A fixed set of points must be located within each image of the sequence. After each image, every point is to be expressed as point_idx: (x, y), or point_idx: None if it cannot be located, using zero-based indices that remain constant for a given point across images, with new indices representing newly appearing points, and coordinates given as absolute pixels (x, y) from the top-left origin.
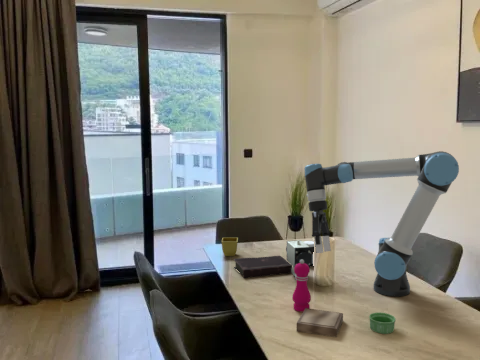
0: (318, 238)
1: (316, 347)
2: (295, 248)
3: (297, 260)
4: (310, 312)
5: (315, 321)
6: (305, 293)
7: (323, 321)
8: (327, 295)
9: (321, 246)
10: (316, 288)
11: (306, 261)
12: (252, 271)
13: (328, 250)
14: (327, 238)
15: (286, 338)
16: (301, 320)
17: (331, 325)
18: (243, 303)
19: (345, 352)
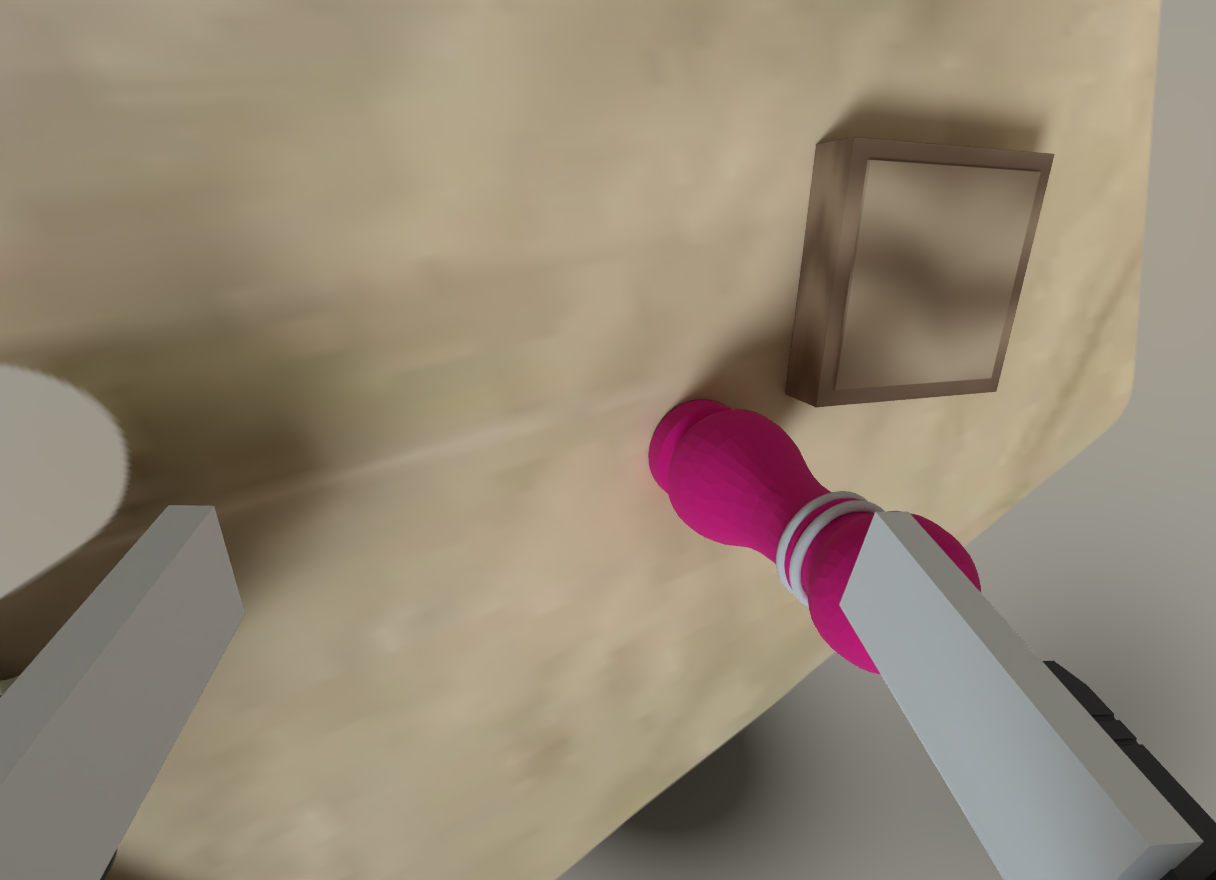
0: (1185, 805)
1: (1089, 245)
2: None
3: (114, 858)
4: (881, 357)
5: (988, 296)
6: (801, 455)
7: (985, 250)
8: (369, 345)
9: (975, 607)
10: (230, 479)
11: None
12: None
13: (216, 553)
14: (3, 846)
15: (1020, 399)
16: (979, 375)
17: (1029, 191)
18: (704, 737)
19: (1133, 92)
